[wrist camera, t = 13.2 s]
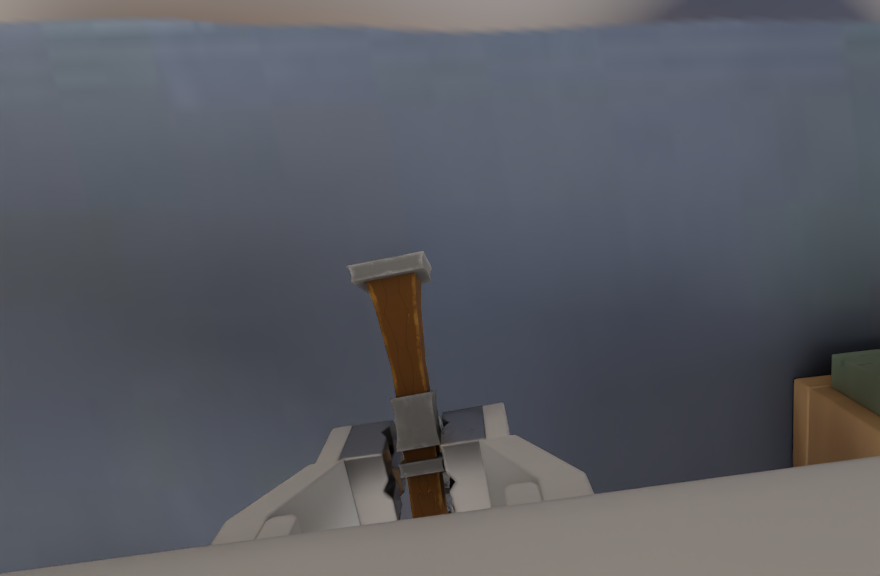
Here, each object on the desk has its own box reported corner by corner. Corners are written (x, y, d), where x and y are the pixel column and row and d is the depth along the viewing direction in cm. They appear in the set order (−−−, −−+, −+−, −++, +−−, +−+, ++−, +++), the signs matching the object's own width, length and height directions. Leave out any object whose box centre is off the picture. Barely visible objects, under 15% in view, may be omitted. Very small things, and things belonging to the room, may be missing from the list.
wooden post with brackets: (426, 567, 14) (398, 661, 9) (384, 296, 15) (343, 263, 11) (488, 557, 13) (491, 647, 9) (440, 285, 15) (422, 248, 11)
